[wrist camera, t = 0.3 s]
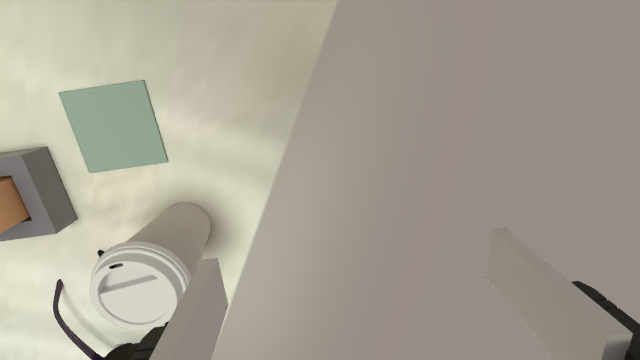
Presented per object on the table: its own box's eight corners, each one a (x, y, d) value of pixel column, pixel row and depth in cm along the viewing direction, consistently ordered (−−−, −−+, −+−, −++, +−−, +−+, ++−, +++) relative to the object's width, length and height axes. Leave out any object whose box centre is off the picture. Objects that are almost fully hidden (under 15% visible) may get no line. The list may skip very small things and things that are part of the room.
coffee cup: (223, 195, 44) (185, 257, 30) (222, 257, 47) (186, 340, 33) (149, 188, 43) (74, 248, 29) (152, 251, 47) (85, 334, 32)
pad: (59, 92, 39) (58, 92, 39) (144, 80, 39) (142, 80, 39) (90, 172, 42) (89, 173, 42) (168, 161, 42) (167, 162, 42)
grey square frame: (-33, 157, 41) (-67, 167, 37) (47, 146, 41) (21, 155, 37) (3, 229, 45) (-24, 244, 41) (77, 219, 44) (56, 233, 41)
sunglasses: (127, 354, 53) (110, 383, 48) (46, 288, 48) (18, 313, 44) (192, 311, 51) (180, 337, 46) (112, 238, 46) (90, 258, 41)
